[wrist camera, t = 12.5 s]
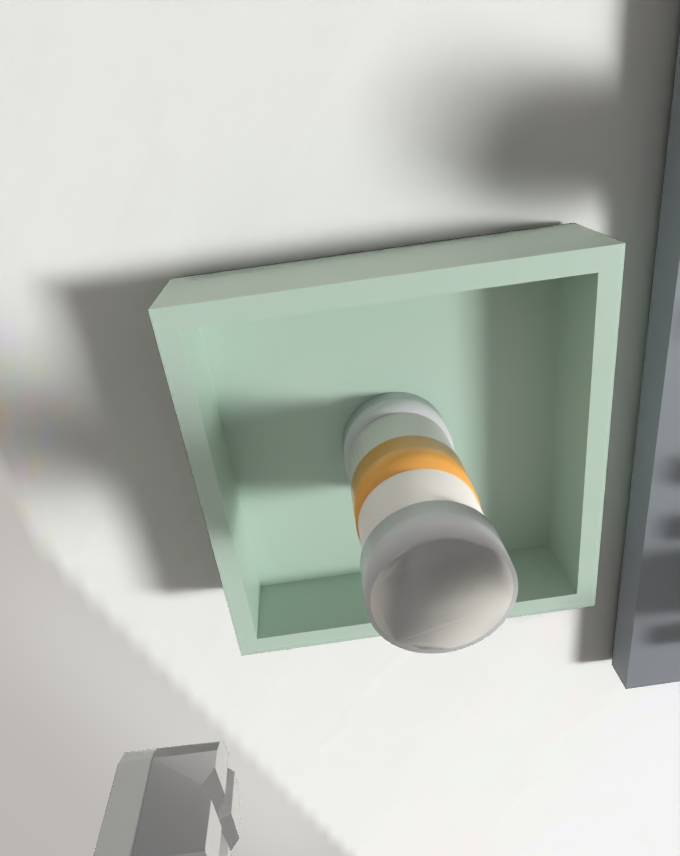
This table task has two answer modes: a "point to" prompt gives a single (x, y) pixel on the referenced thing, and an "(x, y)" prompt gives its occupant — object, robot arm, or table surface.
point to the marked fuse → (422, 530)
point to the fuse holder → (656, 464)
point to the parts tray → (395, 372)
